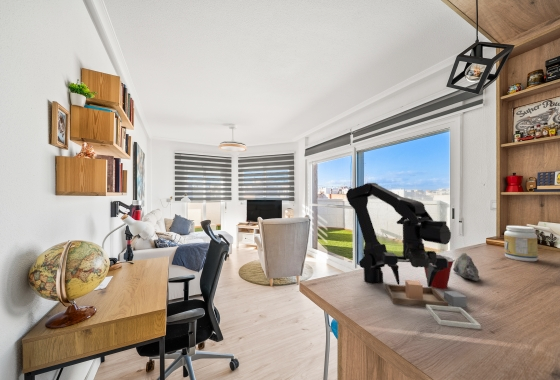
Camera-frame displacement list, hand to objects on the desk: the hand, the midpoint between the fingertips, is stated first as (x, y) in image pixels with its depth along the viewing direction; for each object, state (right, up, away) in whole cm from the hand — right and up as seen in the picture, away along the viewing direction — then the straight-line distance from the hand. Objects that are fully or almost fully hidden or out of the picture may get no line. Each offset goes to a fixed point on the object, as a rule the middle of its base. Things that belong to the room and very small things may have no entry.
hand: (413, 285), depth 76 cm
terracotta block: (0, -4, 0) cm, 4 cm away
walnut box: (0, -5, 0) cm, 5 cm away
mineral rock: (+33, -5, +20) cm, 39 cm away
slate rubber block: (+10, -5, -5) cm, 12 cm away
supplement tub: (+84, -5, +46) cm, 96 cm away
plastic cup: (+15, -5, +10) cm, 18 cm away
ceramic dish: (+3, -5, -12) cm, 14 cm away
